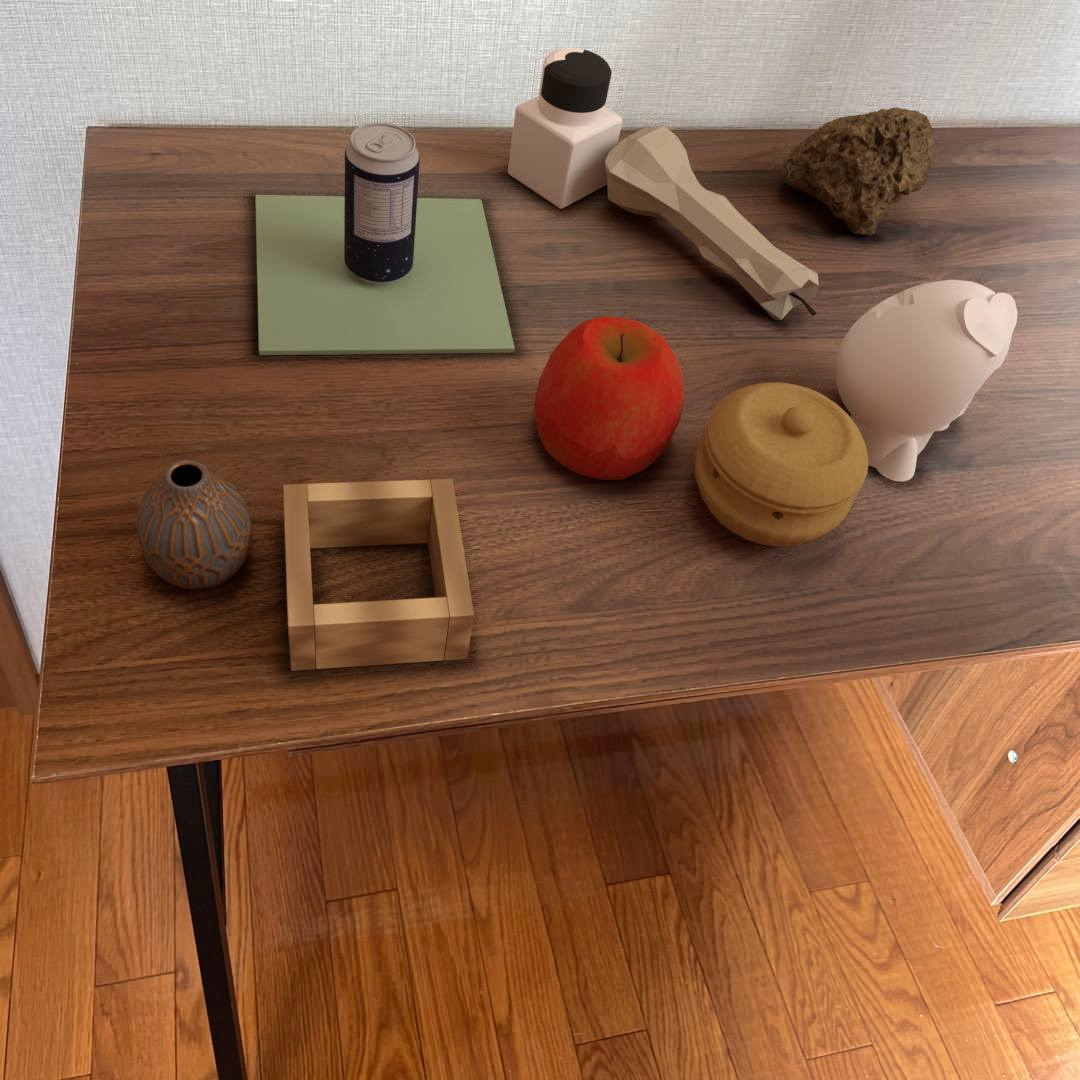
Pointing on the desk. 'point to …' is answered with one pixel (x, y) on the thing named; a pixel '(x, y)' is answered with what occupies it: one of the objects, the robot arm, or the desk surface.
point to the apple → (609, 398)
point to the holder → (376, 625)
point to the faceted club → (704, 219)
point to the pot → (780, 463)
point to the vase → (193, 526)
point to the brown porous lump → (863, 164)
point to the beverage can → (380, 202)
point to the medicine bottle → (565, 129)
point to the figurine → (920, 365)
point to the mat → (369, 309)
